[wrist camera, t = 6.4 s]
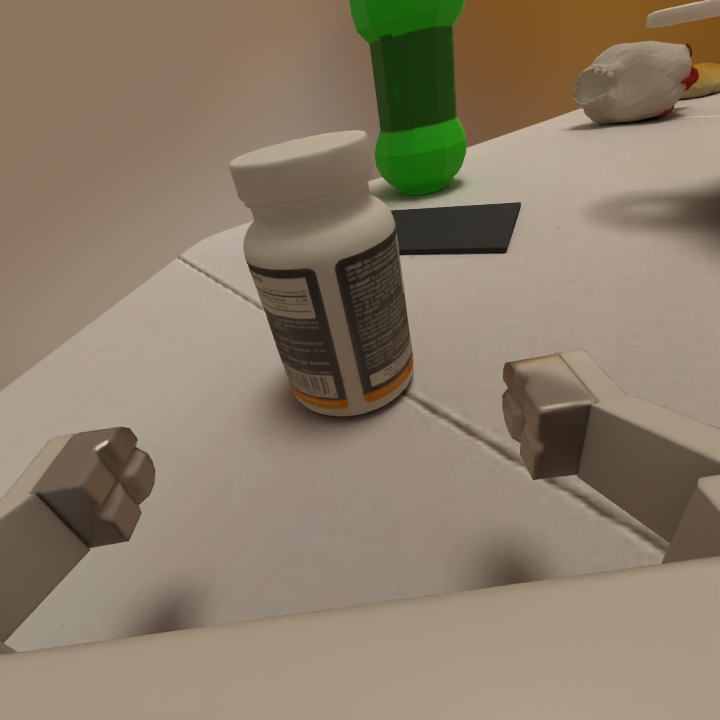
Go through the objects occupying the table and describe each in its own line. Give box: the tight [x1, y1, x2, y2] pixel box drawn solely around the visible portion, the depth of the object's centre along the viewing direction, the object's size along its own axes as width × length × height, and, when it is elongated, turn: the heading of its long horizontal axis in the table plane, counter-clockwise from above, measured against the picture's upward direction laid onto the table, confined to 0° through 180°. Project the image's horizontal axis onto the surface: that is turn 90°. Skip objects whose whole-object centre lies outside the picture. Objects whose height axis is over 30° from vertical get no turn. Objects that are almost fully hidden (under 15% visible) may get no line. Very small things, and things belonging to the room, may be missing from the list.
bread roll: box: [680, 63, 720, 99], centre depth 64 cm, size 8×9×4 cm
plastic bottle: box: [350, 0, 466, 195], centre depth 39 cm, size 10×10×25 cm
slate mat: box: [391, 202, 521, 254], centre depth 35 cm, size 20×10×1 cm, turn 67°
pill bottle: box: [230, 130, 413, 416], centre depth 16 cm, size 6×6×10 cm
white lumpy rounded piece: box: [573, 41, 699, 124], centre depth 55 cm, size 9×11×15 cm
